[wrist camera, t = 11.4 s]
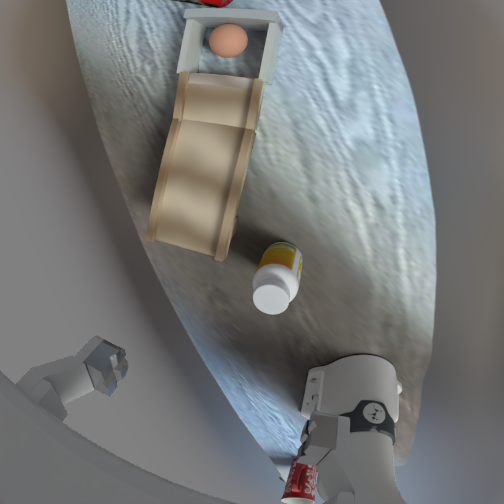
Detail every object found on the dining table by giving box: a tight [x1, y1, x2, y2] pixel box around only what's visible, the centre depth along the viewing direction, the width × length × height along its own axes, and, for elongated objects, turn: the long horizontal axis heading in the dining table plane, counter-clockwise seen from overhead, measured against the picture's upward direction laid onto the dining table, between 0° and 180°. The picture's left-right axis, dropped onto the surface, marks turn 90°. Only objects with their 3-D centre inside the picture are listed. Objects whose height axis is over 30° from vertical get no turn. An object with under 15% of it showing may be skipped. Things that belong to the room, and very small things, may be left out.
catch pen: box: [177, 8, 284, 85], centre depth 27 cm, size 8×10×5 cm
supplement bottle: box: [252, 242, 303, 314], centre depth 36 cm, size 5×5×10 cm
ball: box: [209, 24, 248, 58], centre depth 27 cm, size 4×4×4 cm
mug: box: [281, 459, 317, 504], centre depth 59 cm, size 13×9×14 cm
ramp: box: [146, 72, 265, 262], centre depth 32 cm, size 20×10×8 cm, turn 170°
